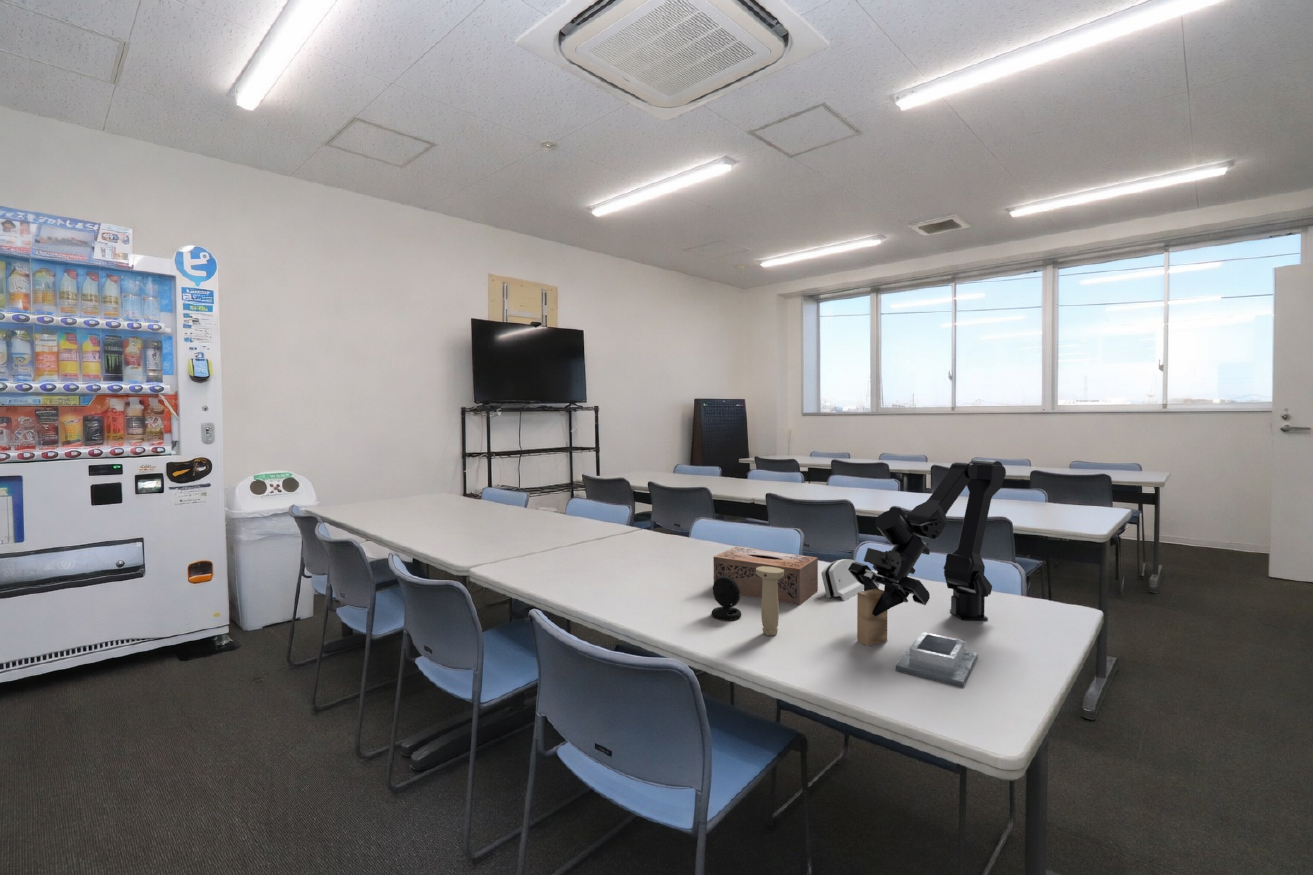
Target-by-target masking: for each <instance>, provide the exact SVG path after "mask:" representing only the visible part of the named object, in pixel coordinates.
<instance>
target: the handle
mask: <svg viewBox="0 0 1313 875" xmlns="http://www.w3.org/2000/svg"><path fill="white" fill-rule="evenodd" d="M756 574H757V575H758V576H759V577H761V578H762V582H763V587H762V599H761V605H760V606H761V607H760V608H761V612H760V613H761V614H760V615H761V623H762V624H761V625H762V633H763V634H765V635H766V636H767V637H769V636H772V637H773V636H776V635H777V634H778V630H779V629H778V627H779V618H780V617H779V616H780V615H779V614H780V613H779V612H780V610H779V609H780V607H779V605H780V604H779V602H778V588H777V582H778V579H780V578H782V577H783V576H784V570H783V569H780V568H776V567H767V566H761V567H757V568H756Z"/></svg>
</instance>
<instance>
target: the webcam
mask: <svg viewBox="0 0 1313 875" xmlns="http://www.w3.org/2000/svg"><path fill="white" fill-rule="evenodd" d="M712 594H713V597H714V599H715V601H716V602H717V603H718V605H720V606H718V607H714V608H713V609H712V610H711V616H712V618H714V619H716V620H720V621H727V622H728V621H735V620H739V619H740V618H741V617H742V611H741V610H740V609H738V608H736V607H734V606H736V605H737V604H738V603H739V601H740V599H741V595H740V589H739V586H738V584H737V583H736V582H735V580H733V579H732V578H730V577H727V576H723V577H719V578H718V579H717V580H716V581H715V582H714V581H713V585H712ZM729 613H731V614H729Z"/></svg>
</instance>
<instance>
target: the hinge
mask: <svg viewBox="0 0 1313 875" xmlns="http://www.w3.org/2000/svg"><path fill="white" fill-rule="evenodd" d="M853 562H857V561H856V560H854V559H848V558H844V559H843V558H842V559H838V560H834V561H832V562H830V563H829V564H826V566H825V567H824V568H823V570H822V571H821V577H822V582H823V586H824V591H825V595H826V598H828V599H829V598H833V597H835V598H836V597H841V601H842V602H845V601H848V600H849V599H852V598H853V597H854V595H855V596H857V592H861V591H863V590H864V585H862V584H861V583H859V582H858V581H857V580H856V579H855V577H854V576H853V575H852V574H851V573H850V572H849V570H848V568H849V567H850V565H851V564H852V563H853ZM852 596H853V597H852Z"/></svg>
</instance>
